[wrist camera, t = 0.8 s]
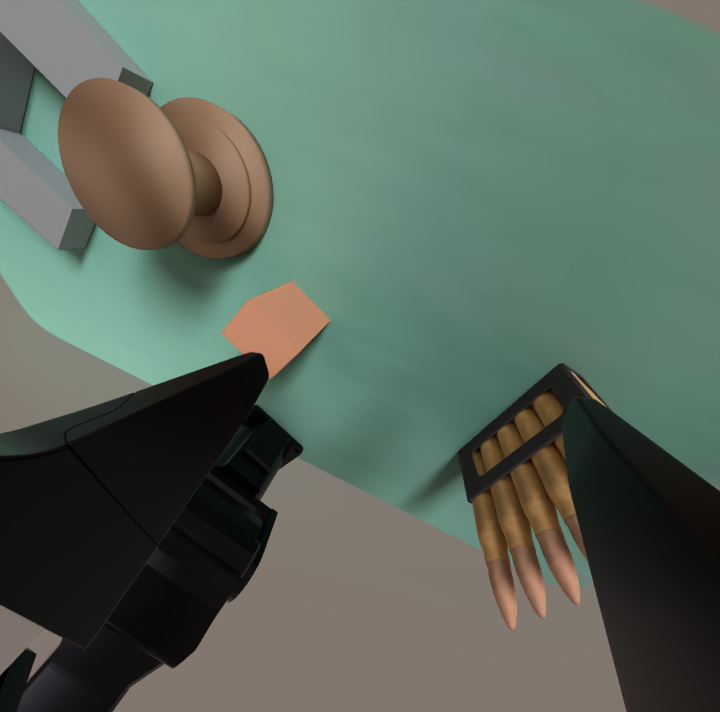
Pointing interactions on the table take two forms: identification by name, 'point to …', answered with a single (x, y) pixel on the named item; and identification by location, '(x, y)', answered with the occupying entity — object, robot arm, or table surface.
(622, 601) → the robot arm
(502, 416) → the ammunition clip
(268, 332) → the tab
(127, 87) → the brown door knob
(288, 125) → the table surface
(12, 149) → the notched board
